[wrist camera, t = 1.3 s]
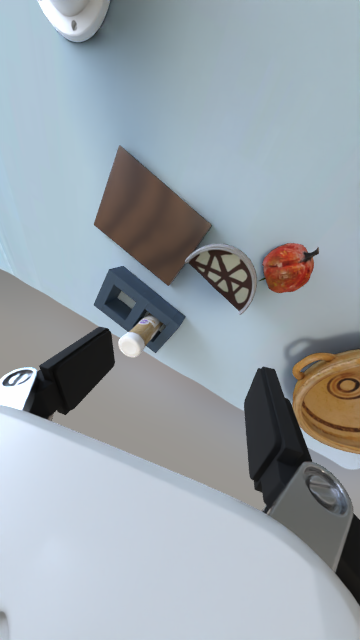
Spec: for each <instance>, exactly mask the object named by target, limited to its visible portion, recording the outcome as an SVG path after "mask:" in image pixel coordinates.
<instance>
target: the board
mask: <svg viewBox="0 0 360 640" xmlns="http://www.w3.org/2000/svg"><path fill="white" fill-rule="evenodd" d="M94 225H95V226H96V227H97V228H98V229H100V230H101V231H102V232H103V233H104V234H106V235H107V236H108V237H109V238H111V239H112V240H113V241H114V242H115V243H117V244H118V245H119V246H120V247H122V248H123V249H124V250H125V251H126V252H128V253H129V254H130V255H131V256H133V257H134V258H135V259H136V260H137V261H139V262H140V263H141V264H142V265H144V266H145V267H146V268H147V269H148V270H150V271H151V272H152V273H153V274H155V275H156V276H157V277H158V278H159V279H161V280H162V281H163V282H164V283H165V284H167V285H168V286H169V285H170V284H171V283H172V282H173V280H174V279H175V277H176V276H177V275H178V273H179V272H180V270H181V269H182V267H183V266H184V265H185V263H186V262H185V260H186V259H187V257H188V256H189V255H190V254H192V253H193V252H194V251H195V249H196V248H197V246H198V245H199V244H200V242H201V241H202V239H203V238H204V236H205V235H206V234H207V232H208V231H209V229H210V228H211V227H212V225H211V224H210V223H209V222H207V221H206V220H205V219H204V218H203V217H202V216H201V215H199V214H198V213H197V212H196V211H195V210H194V209H193V208H191V207H190V206H189V205H188V204H187V203H186V202H185V201H183V200H182V199H181V198H180V197H179V196H178V195H176V194H175V193H174V192H173V191H172V190H171V189H170V188H168V187H167V186H166V185H165V184H164V183H163V182H162V181H160V180H159V179H158V178H157V177H156V176H155V175H154V174H152V173H151V172H150V171H149V170H148V169H147V168H146V167H144V166H143V165H142V164H141V163H140V162H139V161H137V160H136V159H135V158H134V157H133V156H132V155H131V154H129V153H128V152H127V151H126V150H125V149H124V148H123V147H121V146H120V145H119V148H118V151H117V154H116V157H115V160H114V163H113V166H112V169H111V172H110V176H109V179H108V182H107V185H106V188H105V191H104V194H103V197H102V200H101V204H100V207H99V210H98V213H97V216H96V219H95V222H94Z"/></svg>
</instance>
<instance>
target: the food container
mask: <svg viewBox="0 0 360 640" xmlns="http://www.w3.org/2000/svg"><path fill="white" fill-rule="evenodd" d="M185 262H186V263H189V264H190V265H191V266H192V267H193V268H195V269H196V270H197V271H198V272H199V273H200V274H201V275H202V276H203V277H204V278H205V279H206V280H207V281H208V282H209V283H210V284H211V285H212V286H213V287H214V288H215V289H216V290H217V291H218V292H219V293H221V294H222V295H223V296H224V297H225V298H226V299H227V300H228V301H229V302H230V303H231V304H232V305H233V306H234V307H235V308H236V309H238V311H239V314H240V315H241V314H242V313H243V312H244V311H245V310H246V309H247V308H248V307H249V305H250V303H251V302H252V300H253V297H254V294H255V291H256V286H257V277H256V272H255V269H254V266H253V264H252V262H251V260H250V259H249V258H248V257H247V256H246V255H245V254H244V253H243V252H242V251H241V250H239V249H237V248H235V247H233V246H230V245H226V244H211V245H206V246H204V247H201V248H199V249H197V250H196V251H194V252H193V253H192V254H190V255H189V256H188V257H187V259H186V260H185Z"/></svg>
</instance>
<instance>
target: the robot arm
mask: <svg viewBox="0 0 360 640" xmlns="http://www.w3.org/2000/svg"><path fill="white" fill-rule="evenodd" d="M38 2H39V4H40V6H41V8H42V10H43V12H44V14H45V15H46V17H47V18H48V20H49V21H50V23H51V24H52V25H53V26H54V27H55V29H56V30H57V31H58V32H59V33H60V34H61V35H62V36H63V37H64V38H66V39H68V40H70V41H73V42H82V41H86V40H87V39H89V38H91V37H92V36H93V35H94V34H95V33H96V31H97V30H98V29H99V27H100V26H101V24H102V22H103V20H104V18H105V15H106V13H107V10H108V7H109V3H110V0H38ZM114 363H115V360H114V352H113V345H112V335H111V332H110V331H109V329H108V328H103V327H98V328H96V329H95V330H93V331H92V332H90V333H89V334H87V335H86V336H84V337H83V338H81V339H80V340H78V341H76V342H75V343H73V344H72V345H70V346H69V347H67V348H66V349H64V350H63V351H61V352H59V353H58V354H56V355H55V356H53V357H52V358H50V359H49V360H47V361H46V362H44V363H43V364H41V365H40V366H39V367H40V369H41V370H39V371H38V372H37V370H36V369H35V368H33V367H25V368H20V369H17V370H14V371H12V372H10V373H8V374H6V375H5V376H4V377H2V378H1V379H0V640H360V520H359V519H358V518H357V517H356V515H355V514H354V513H353V506H352V502H351V499H350V497H349V495H348V493H347V492H346V490H345V488H344V487H343V486H342V484H341V483H340V482H339V480H338V479H337V478H336V477H335V476H334V475H333V474H332V473H331V472H329V471H328V470H327V469H326V468H324V467H323V466H321V465H319V464H317V463H314V462H312V459H311V457H310V454H309V451H308V448H307V446H306V443H305V440H304V438H303V435H302V432H301V429H300V427H299V424H298V421H297V418H296V416H295V413H294V410H293V408H292V405H291V403H290V401H289V400H288V399H287V398H284V395H283V392H282V389H281V386H280V383H279V380H278V377H277V374H276V371H275V370H274V369H271V368H267V367H262V368H261V369H260V368H258V370H257V372H256V374H255V377H254V379H253V382H252V384H251V387H250V389H249V391H248V394H247V396H246V399H245V402H244V411H245V421H246V422H245V423H246V436H247V448H248V462H249V474H250V478H251V479H252V480H254V487H255V490H257V491H260V492H262V493H263V500H264V502H265V504H266V505H265V507H264V508H263V510H262V511H260V510H258V509H256V508H254V507H252V506H250V505H248V504H246V503H244V502H242V501H240V500H238V499H236V498H234V497H231V496H229V495H227V494H224V493H222V492H220V491H218V490H215V489H213V488H211V487H209V486H206V485H204V484H202V483H199V482H197V481H195V480H192V479H190V478H188V477H185V476H183V475H181V474H178V473H176V472H173V471H171V470H169V469H166V468H164V467H161V466H159V465H157V464H154V463H152V462H149V461H147V460H145V459H142V458H140V457H137V456H135V455H133V454H130V453H128V452H125V451H123V450H120V449H118V448H116V447H113V446H111V445H108V444H106V443H103V442H101V441H99V440H96V439H94V438H91V437H89V436H86V435H84V434H81V433H79V432H77V431H74V430H72V429H69V428H67V427H64V426H62V425H59V424H57V423H54V422H52V417H53V414H54V412H55V411H56V410H57V411H58V412H59V413H62V414H64V415H66V414H67V413H68V412H69V411H70V410H72V409H74V408H75V407H76V406H77V405H78V404H79V403H80V402H81V401H82V399H83V398H85V396H86V395H87V394H88V393H89V392H90V391H91V390H92V389H93V388H94V387H95V386H96V385H97V384H98V383H99V381H100V380H101V379H102V378H103V377H104V376H105V375H106V374H107V373H108V372H109V371H110V370H111V369H112V368H113V366H114Z"/></svg>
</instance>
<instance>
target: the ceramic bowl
mask: <svg viewBox="0 0 360 640" xmlns="http://www.w3.org/2000/svg"><path fill="white" fill-rule="evenodd" d="M317 360H320V361H319V362H317V363H315V364H313V365H312V366H311V367H310V368H308V369H307V370H306V371H305V372H300V371H301V369H303V368H304V367H305V366H307V365H308V364H310V363H312V362H314V361H317ZM292 373H293V375H294V377H295V378H296V379H297V380H298V381H297V383H296V385H295V389H294V392H293V410H294V413H295V416H296V418H297V421H298V424H299V426H300V427H301V428H302V429H303V430H304V431H305V432H306V433H307V434H308V435H310V436H311V437H312V438H314V439H316V440H318V441H319V442H321V443H323V444H326V445H328V446H330V447H333V448H336V449H339V450H342V451H346V452H351V453H356V454H360V349H356V350H350V351H345V352H342V353H338V354H331V353H315V354H311V355H309V356H307V357H305V358H304V359H302V360H301V361H299V362H298V363H297V364H296V365H295V366H294V367H293V370H292Z"/></svg>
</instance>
